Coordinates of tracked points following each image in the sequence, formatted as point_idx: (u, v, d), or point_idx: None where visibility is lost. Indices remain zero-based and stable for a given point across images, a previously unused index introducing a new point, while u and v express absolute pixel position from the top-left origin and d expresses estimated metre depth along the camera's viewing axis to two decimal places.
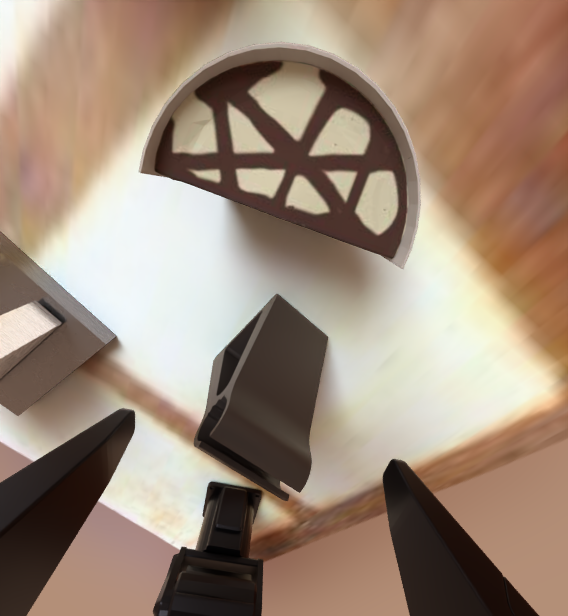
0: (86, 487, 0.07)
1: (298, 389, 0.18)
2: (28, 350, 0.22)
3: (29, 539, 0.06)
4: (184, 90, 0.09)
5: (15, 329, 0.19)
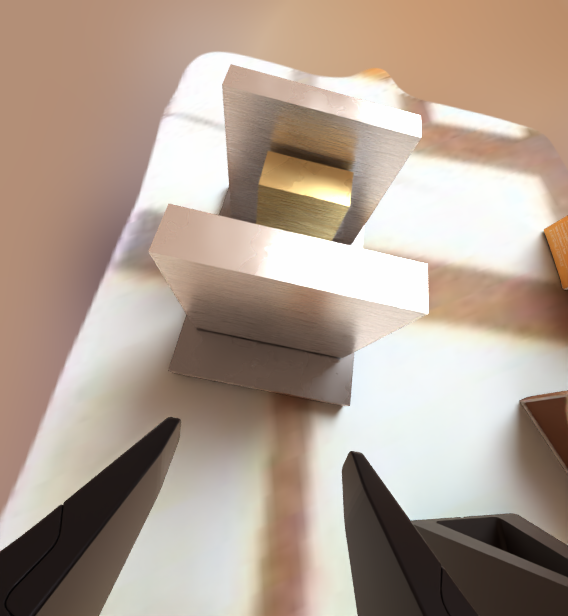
0: (145, 497, 0.07)
1: None
2: (303, 347, 0.21)
3: (103, 550, 0.06)
4: None
5: None
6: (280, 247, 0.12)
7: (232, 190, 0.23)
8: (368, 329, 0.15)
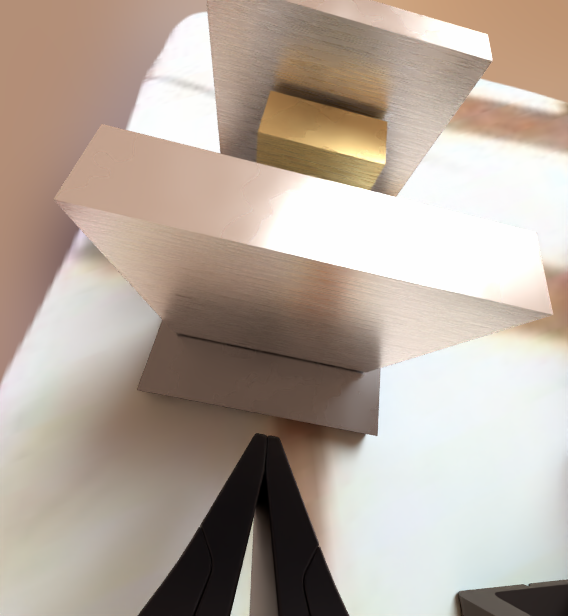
0: None
1: None
2: (317, 358, 0.16)
3: None
4: None
5: None
6: (294, 199, 0.07)
7: None
8: (421, 338, 0.10)
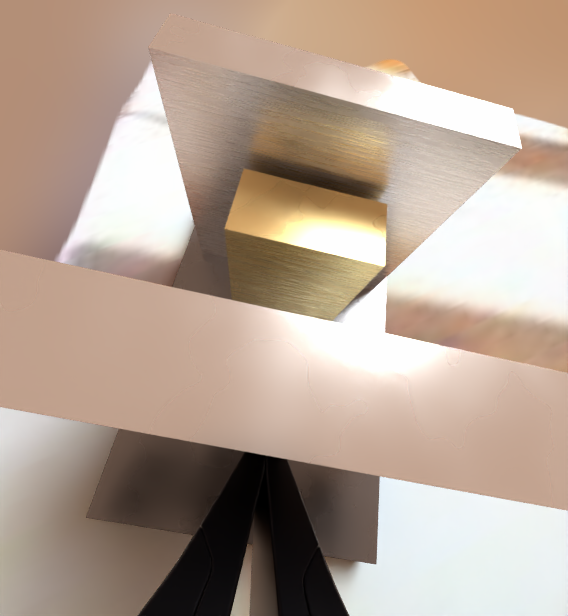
0: None
1: None
2: None
3: None
4: None
5: None
6: (262, 354, 0.05)
7: (198, 222, 0.15)
8: None
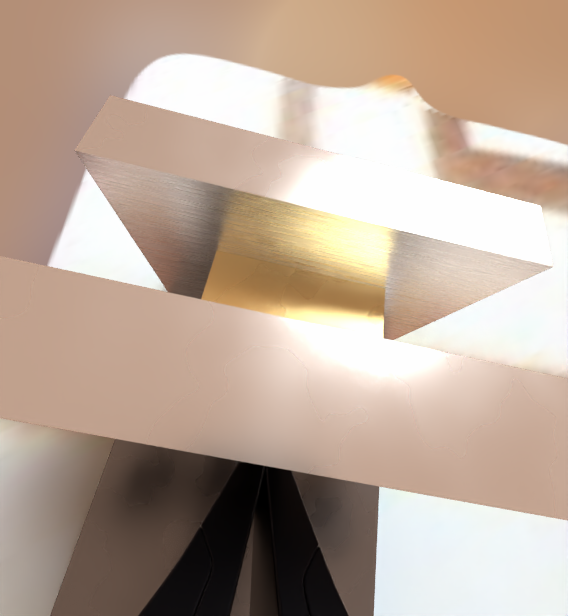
0: None
1: None
2: None
3: None
4: None
5: None
6: (260, 361, 0.05)
7: (172, 291, 0.14)
8: None
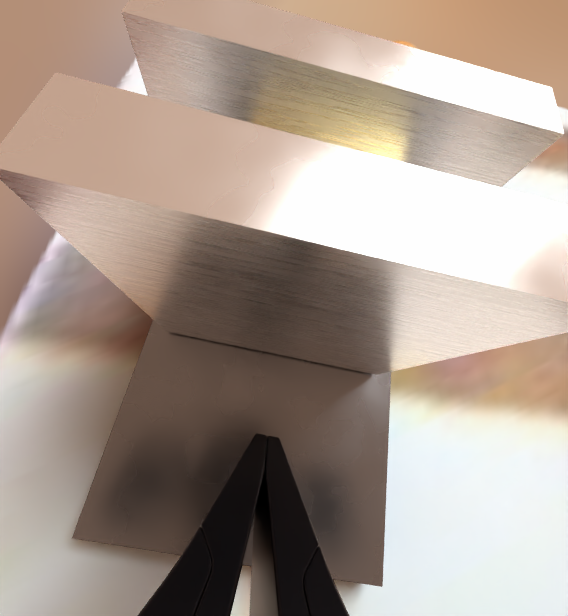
0: None
1: None
2: (322, 360, 0.14)
3: None
4: None
5: None
6: (302, 169, 0.05)
7: None
8: (448, 342, 0.08)
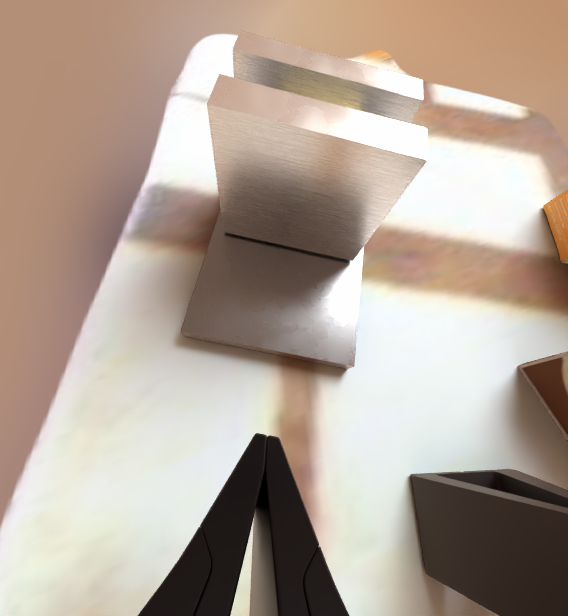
0: None
1: None
2: (319, 246, 0.24)
3: None
4: None
5: None
6: (308, 108, 0.15)
7: None
8: (377, 200, 0.18)
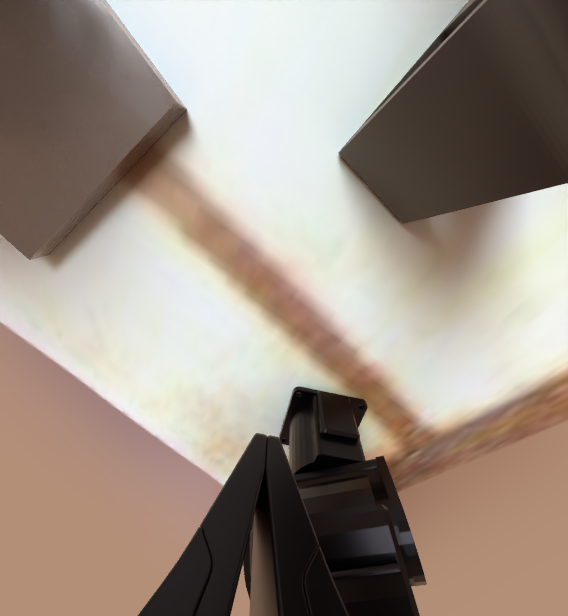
0: None
1: None
2: None
3: None
4: None
5: None
6: None
7: None
8: None
